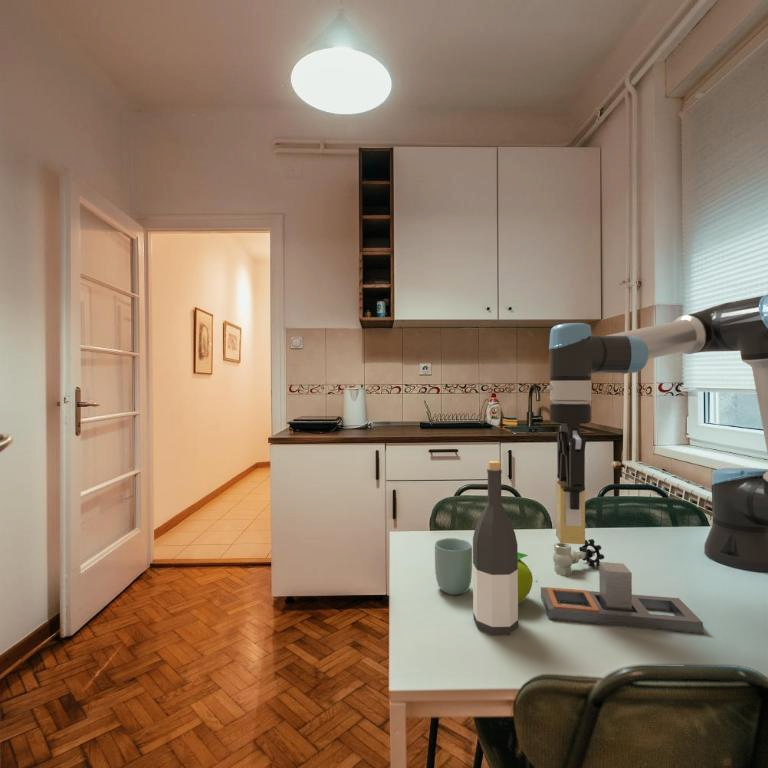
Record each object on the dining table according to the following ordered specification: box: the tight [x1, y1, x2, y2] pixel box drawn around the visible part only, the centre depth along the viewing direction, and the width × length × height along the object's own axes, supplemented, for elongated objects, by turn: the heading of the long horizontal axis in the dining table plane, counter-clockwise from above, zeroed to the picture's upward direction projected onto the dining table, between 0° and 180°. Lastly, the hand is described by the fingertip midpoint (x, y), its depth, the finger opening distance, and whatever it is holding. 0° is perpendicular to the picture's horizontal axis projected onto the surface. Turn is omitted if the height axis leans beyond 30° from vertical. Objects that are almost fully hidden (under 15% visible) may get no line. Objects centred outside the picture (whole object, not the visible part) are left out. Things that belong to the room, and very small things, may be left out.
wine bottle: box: [472, 460, 519, 636], centre depth 80 cm, size 8×8×30 cm
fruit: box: [518, 552, 533, 605], centre depth 89 cm, size 9×9×10 cm
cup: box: [434, 537, 473, 596], centre depth 94 cm, size 8×8×10 cm
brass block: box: [555, 480, 586, 546], centre depth 86 cm, size 4×4×11 cm
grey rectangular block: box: [598, 561, 633, 612], centre depth 84 cm, size 4×4×9 cm
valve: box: [552, 538, 605, 577], centre depth 104 cm, size 7×7×12 cm
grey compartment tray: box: [540, 586, 704, 634], centre depth 84 cm, size 26×9×2 cm, turn 79°
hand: (570, 521), depth 86 cm, fingers closed on brass block, 4 cm apart
